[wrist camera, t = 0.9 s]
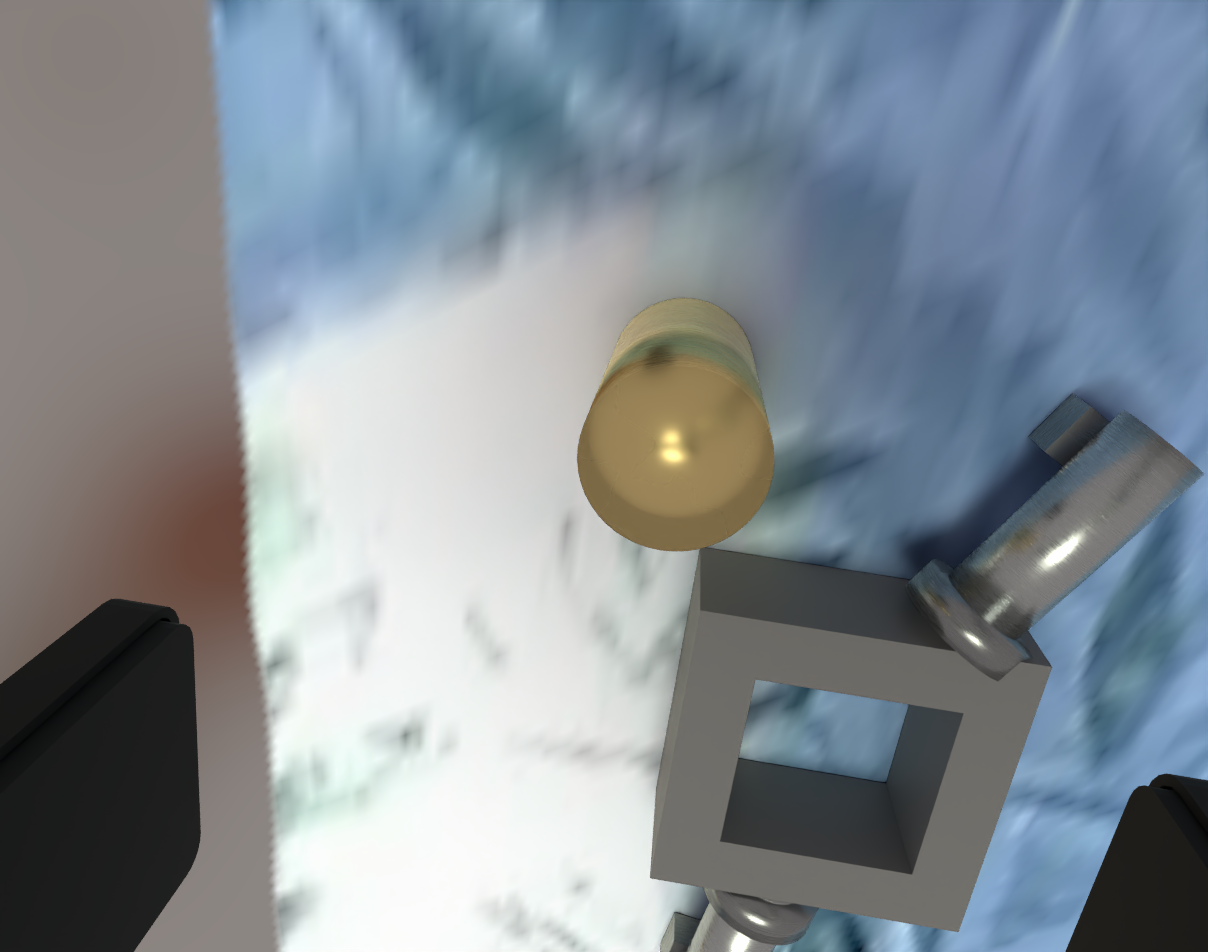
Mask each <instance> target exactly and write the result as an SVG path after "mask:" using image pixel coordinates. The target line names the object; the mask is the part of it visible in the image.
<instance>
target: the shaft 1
mask: <svg viewBox="0 0 1208 952" xmlns="http://www.w3.org/2000/svg"><path fill="white" fill-rule="evenodd" d="M704 891H705V894H706V896H707V898H708V900H709V905H708V907H707V909H706V911H705V913H704V915H703V917H702V920H697V919H694V918H691V917H688V916H685V915H682V914H679V913H676V912H675V913H674V915H673V917H672V920H671V922H670V924H669V926H668V928H667V931H666V933H665V935H664V937H663V939H662V942H661V947H660V952H773V950H774V948H775V946H776V945H787V944H791V943H794V942H796V941H798V940H799V939H800V938H802V937H803V936H804V934H805V933H806V931H807V929H808V928H809V926H810V924H811V922H812V920H813V918H814V916H815V914H816V912H817V911H818V909H819V908H818V907H812V906H806V905H801V904H795V903H789V902H783V901H778V900H772V899H766V898H761V897H755V896H749V895H744V894H738V893H732V892H726V891H721V890H715V889H709V888H704Z"/></svg>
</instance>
